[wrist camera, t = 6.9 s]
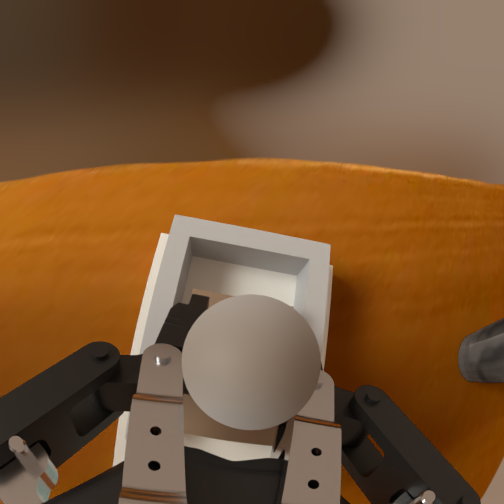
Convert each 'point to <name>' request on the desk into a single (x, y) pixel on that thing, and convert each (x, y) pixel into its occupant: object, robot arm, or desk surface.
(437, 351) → the desk surface
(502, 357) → the beverage cup
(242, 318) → the peg with base
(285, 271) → the docking tray
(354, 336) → the desk surface
